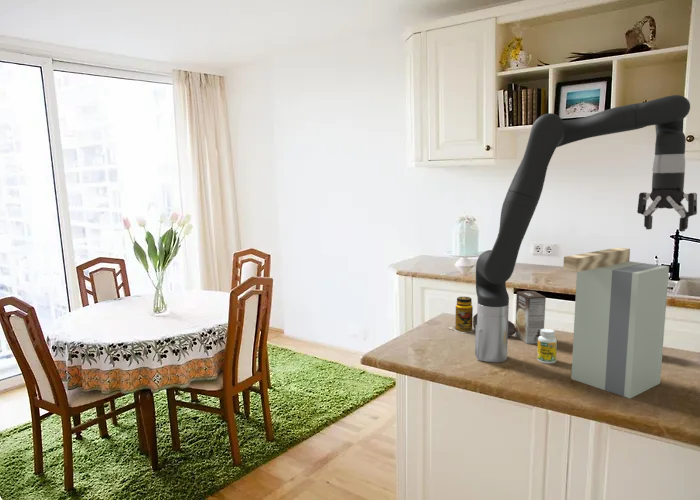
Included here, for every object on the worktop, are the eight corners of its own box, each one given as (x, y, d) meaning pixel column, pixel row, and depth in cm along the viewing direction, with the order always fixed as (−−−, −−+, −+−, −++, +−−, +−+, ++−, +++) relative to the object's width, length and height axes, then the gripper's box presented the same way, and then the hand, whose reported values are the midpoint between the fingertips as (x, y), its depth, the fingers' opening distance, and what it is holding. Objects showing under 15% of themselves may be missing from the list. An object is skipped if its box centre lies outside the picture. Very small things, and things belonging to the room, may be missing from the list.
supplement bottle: (555, 358, 160) (556, 328, 159) (556, 364, 155) (558, 333, 153) (536, 357, 162) (537, 327, 160) (537, 363, 156) (538, 332, 155)
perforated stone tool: (518, 336, 182) (518, 317, 181) (512, 340, 178) (513, 320, 177) (477, 329, 191) (477, 310, 190) (471, 332, 187) (472, 314, 186)
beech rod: (576, 272, 129) (576, 258, 129) (563, 270, 132) (563, 256, 132) (629, 261, 144) (630, 248, 144) (616, 259, 147) (617, 247, 146)
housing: (629, 398, 131) (638, 273, 127) (571, 378, 144) (577, 264, 140) (660, 383, 140) (669, 266, 136) (602, 366, 153) (608, 258, 149)
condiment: (464, 333, 186) (464, 301, 184) (446, 328, 193) (447, 296, 191) (477, 330, 190) (478, 298, 188) (460, 324, 197) (460, 293, 195)
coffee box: (514, 335, 183) (515, 291, 180) (531, 334, 184) (532, 290, 181) (526, 344, 174) (528, 297, 171) (544, 343, 175) (546, 296, 172)
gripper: (703, 170, 139) (699, 230, 142) (647, 171, 151) (644, 227, 153) (692, 171, 135) (688, 233, 137) (635, 172, 146) (632, 229, 148)
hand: (664, 230), depth 145 cm, fingers open, 8 cm apart
